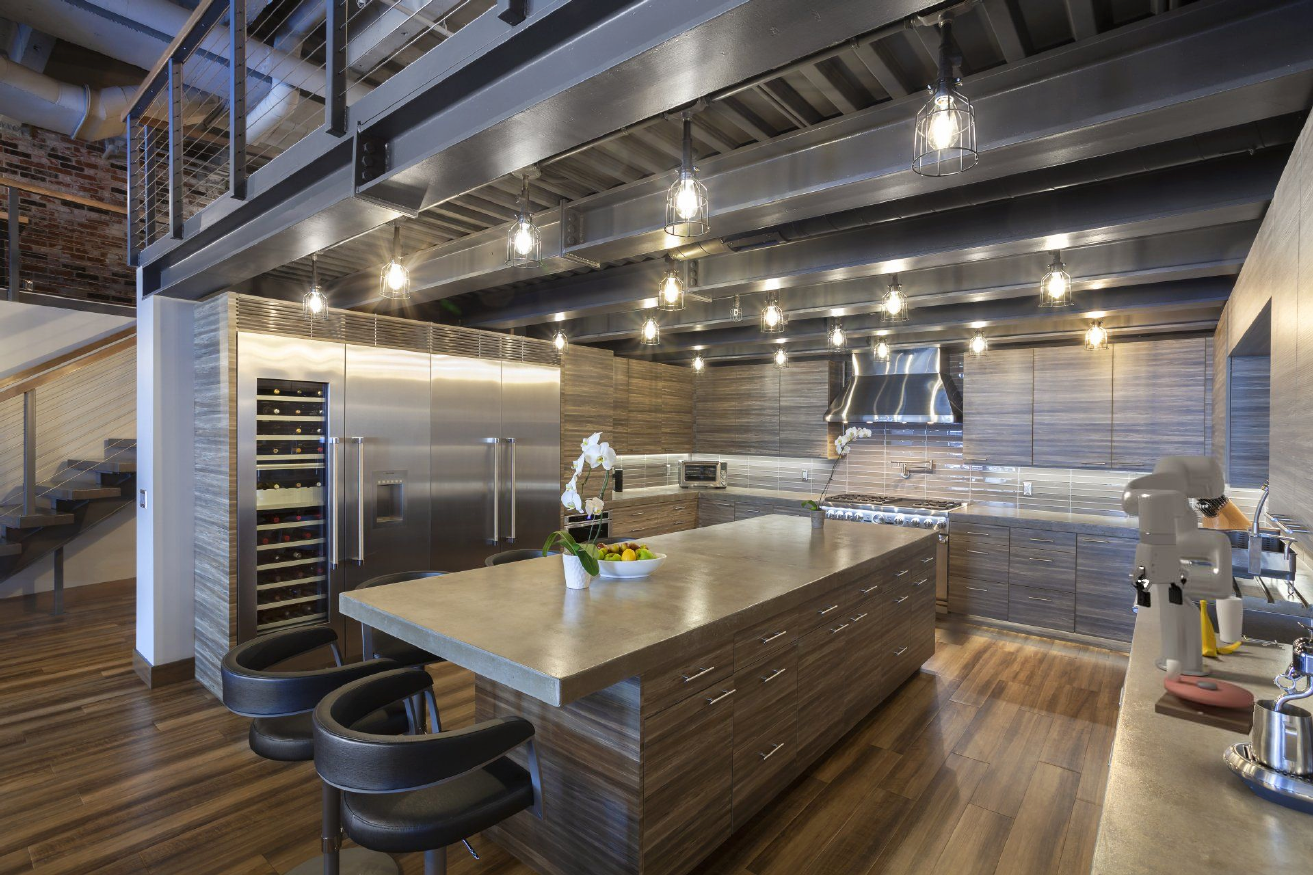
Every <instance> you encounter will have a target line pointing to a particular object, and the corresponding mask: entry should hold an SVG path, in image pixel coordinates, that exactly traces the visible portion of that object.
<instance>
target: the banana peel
mask: <svg viewBox="0 0 1313 875" xmlns="http://www.w3.org/2000/svg"><path fill="white" fill-rule="evenodd" d="M1199 603H1200V613H1201V630H1202V656H1204V657H1205V656H1206V657H1214V658H1219V657H1218V656H1219V655H1218V654H1222V655H1228V654H1231V653H1233V652H1234V651H1236V650H1237V649H1238V648H1240V646H1241V645H1242V643H1243V642H1242V641H1241V642H1237V643H1235V644H1230V645H1227V646H1224V647H1218V646H1217V640H1216V634H1215V630H1214V627H1213V624H1212V621H1211V619H1210V617H1209V615H1208V610H1207V608H1208V607H1207V606H1208V601H1207V600H1204V599H1202V600H1201V599H1200V600H1199Z"/></svg>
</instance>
